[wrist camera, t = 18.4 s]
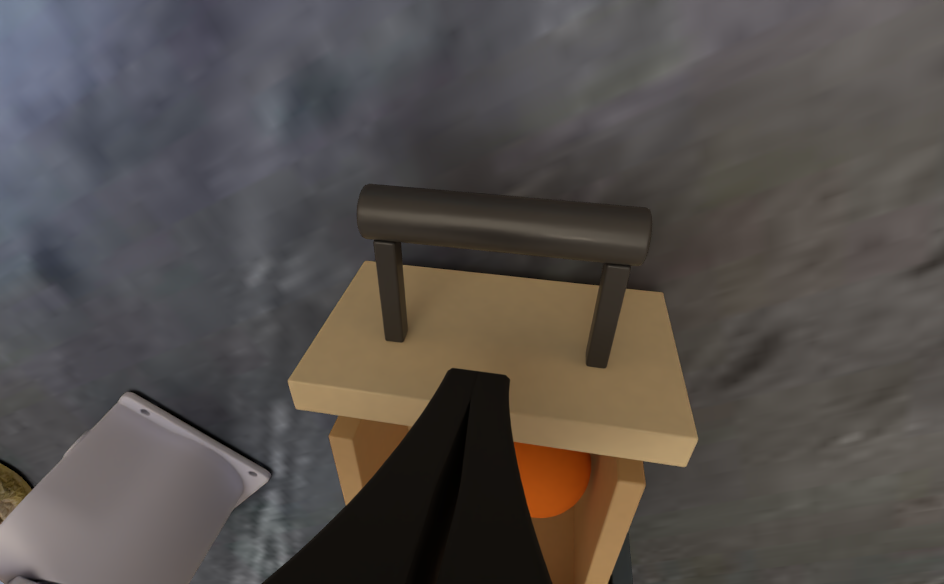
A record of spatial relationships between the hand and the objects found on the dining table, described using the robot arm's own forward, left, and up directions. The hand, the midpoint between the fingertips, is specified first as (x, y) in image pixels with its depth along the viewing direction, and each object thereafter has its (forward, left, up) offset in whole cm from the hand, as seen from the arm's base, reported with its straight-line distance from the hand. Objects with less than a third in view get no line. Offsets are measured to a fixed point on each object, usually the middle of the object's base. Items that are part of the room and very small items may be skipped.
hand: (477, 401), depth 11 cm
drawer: (+3, -4, -7) cm, 9 cm away
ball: (+6, -5, -4) cm, 9 cm away
